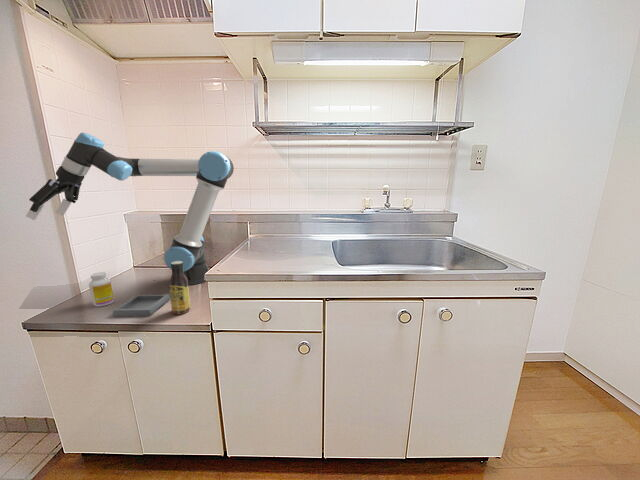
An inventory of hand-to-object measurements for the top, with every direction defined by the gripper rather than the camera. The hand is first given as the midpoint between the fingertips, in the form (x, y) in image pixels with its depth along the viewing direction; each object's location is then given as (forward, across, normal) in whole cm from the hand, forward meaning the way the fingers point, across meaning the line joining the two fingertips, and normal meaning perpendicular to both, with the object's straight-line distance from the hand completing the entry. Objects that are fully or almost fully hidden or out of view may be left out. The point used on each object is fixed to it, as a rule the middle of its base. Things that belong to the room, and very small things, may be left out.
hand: (46, 215), depth 100 cm
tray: (+8, +15, +50) cm, 53 cm away
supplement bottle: (+19, +7, +36) cm, 41 cm away
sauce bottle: (-1, +21, +63) cm, 66 cm away
